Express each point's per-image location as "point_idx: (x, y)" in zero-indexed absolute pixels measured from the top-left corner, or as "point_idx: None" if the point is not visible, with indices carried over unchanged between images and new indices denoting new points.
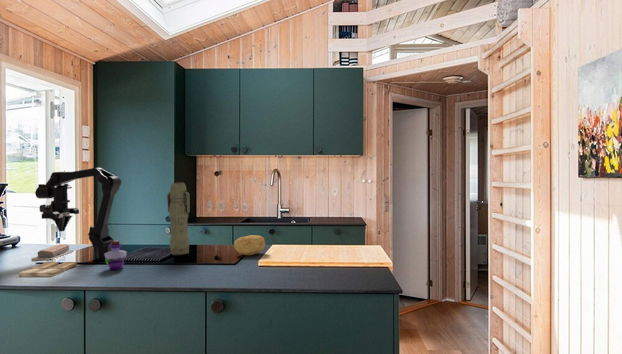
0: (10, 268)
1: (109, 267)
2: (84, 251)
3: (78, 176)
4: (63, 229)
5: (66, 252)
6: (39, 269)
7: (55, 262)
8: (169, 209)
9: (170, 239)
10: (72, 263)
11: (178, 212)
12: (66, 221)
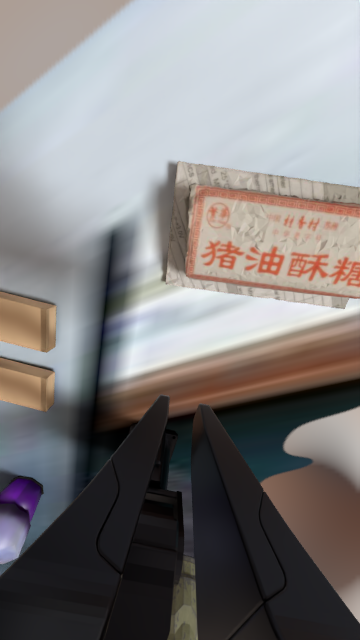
0: (11, 139)
1: (9, 485)
2: (321, 353)
3: None
4: (192, 435)
5: (299, 293)
6: None
7: (37, 345)
8: None
9: (171, 622)
10: (25, 404)
11: None
12: (198, 621)
